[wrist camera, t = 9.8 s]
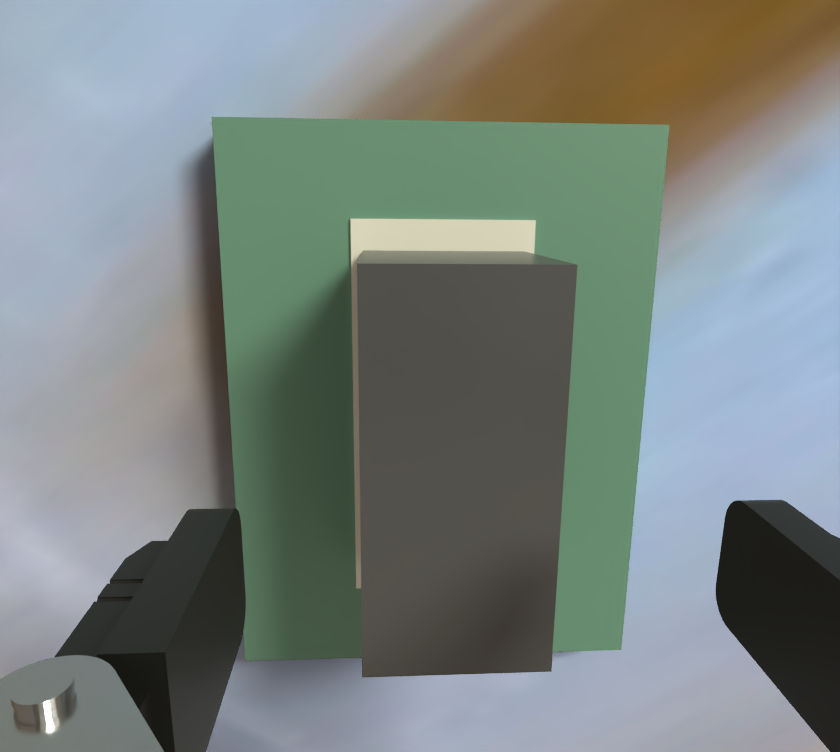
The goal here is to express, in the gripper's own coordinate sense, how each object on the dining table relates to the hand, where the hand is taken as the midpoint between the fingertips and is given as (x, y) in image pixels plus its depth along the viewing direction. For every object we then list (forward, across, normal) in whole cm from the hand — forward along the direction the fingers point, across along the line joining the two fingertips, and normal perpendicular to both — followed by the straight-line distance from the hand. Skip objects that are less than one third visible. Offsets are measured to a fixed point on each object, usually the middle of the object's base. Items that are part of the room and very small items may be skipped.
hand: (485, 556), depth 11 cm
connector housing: (+8, 0, 0) cm, 9 cm away
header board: (+10, 0, 0) cm, 10 cm away
